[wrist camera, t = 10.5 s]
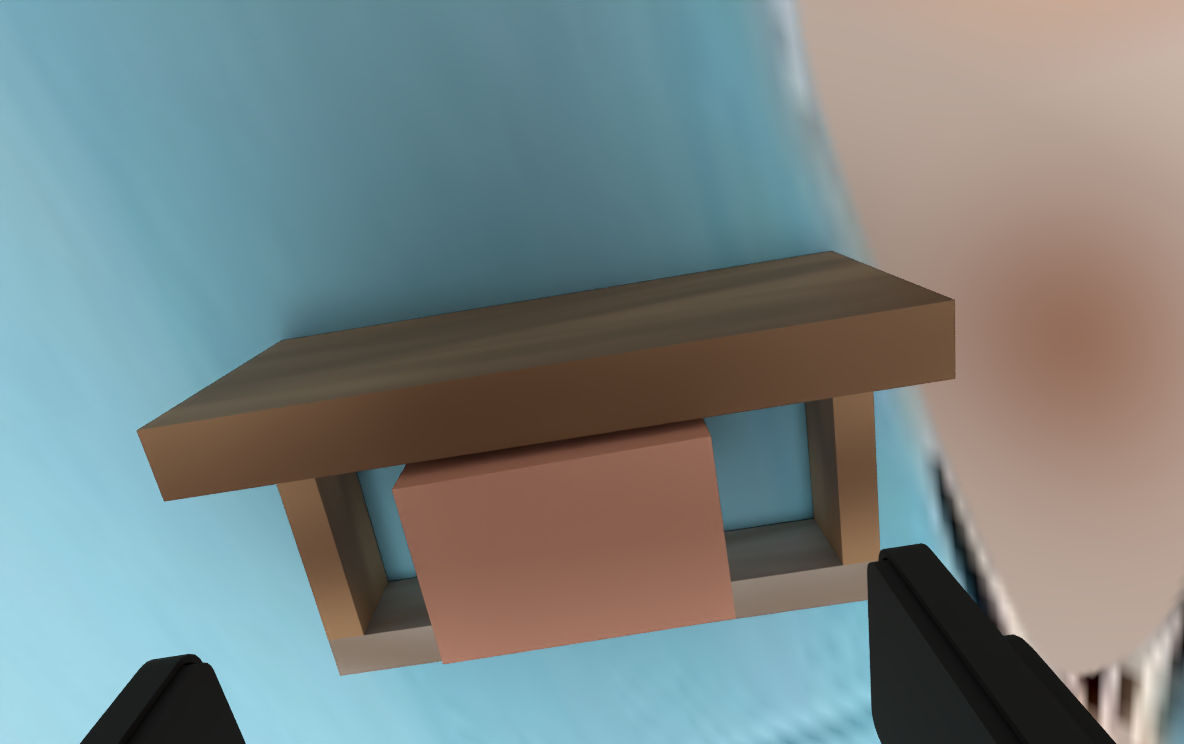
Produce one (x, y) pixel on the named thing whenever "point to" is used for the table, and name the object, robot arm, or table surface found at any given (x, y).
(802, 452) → the table surface
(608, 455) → the salmon pink block
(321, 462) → the board
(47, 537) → the table surface
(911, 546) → the robot arm
